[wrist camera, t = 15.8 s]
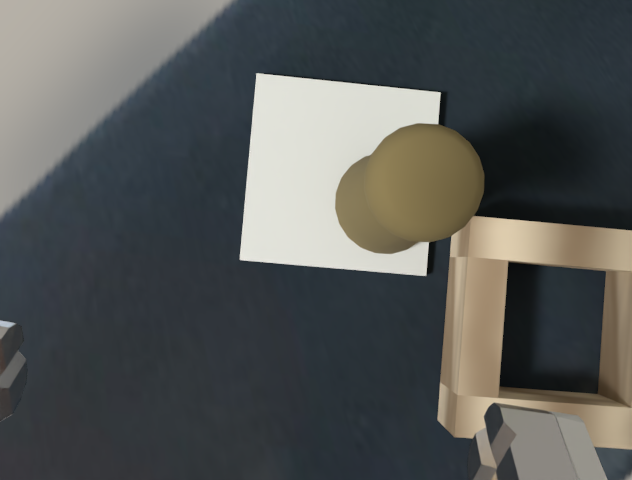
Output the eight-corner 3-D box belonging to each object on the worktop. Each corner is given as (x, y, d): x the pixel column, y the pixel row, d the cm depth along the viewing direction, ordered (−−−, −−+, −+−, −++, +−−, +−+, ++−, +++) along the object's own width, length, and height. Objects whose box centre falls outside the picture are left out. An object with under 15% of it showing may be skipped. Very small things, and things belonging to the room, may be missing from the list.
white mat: (240, 260, 36) (239, 260, 35) (256, 76, 36) (256, 73, 36) (423, 275, 36) (426, 276, 36) (437, 95, 37) (440, 92, 36)
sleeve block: (437, 420, 36) (458, 441, 32) (452, 220, 37) (475, 214, 32) (631, 433, 37) (677, 456, 33) (643, 237, 37) (691, 234, 33)
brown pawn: (444, 164, 36) (517, 121, 25) (425, 263, 36) (490, 264, 25) (345, 142, 36) (376, 90, 25) (325, 243, 36) (346, 235, 25)
